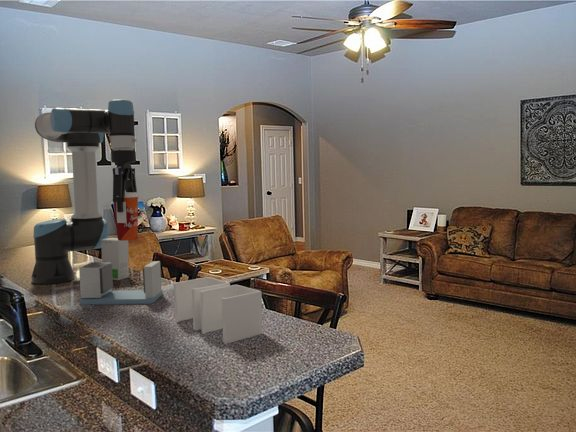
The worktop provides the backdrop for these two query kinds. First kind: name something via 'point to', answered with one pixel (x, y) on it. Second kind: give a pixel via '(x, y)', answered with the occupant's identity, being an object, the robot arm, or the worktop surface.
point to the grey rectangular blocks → (219, 307)
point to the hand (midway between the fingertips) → (126, 221)
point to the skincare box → (116, 257)
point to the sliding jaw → (96, 279)
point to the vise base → (134, 296)
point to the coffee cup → (128, 218)
